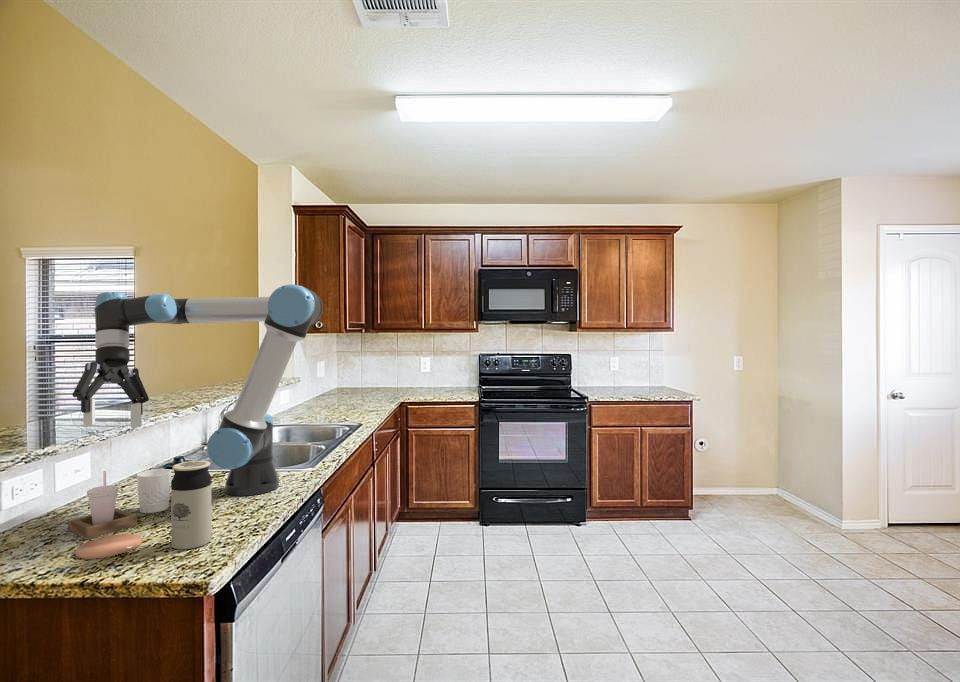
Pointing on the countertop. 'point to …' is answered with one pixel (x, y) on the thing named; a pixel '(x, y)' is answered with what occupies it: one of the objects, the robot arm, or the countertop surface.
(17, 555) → the countertop surface
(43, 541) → the countertop surface
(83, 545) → the coaster
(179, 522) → the travel mug
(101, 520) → the smoothie
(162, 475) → the white cup
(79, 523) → the brown square wooden frame
